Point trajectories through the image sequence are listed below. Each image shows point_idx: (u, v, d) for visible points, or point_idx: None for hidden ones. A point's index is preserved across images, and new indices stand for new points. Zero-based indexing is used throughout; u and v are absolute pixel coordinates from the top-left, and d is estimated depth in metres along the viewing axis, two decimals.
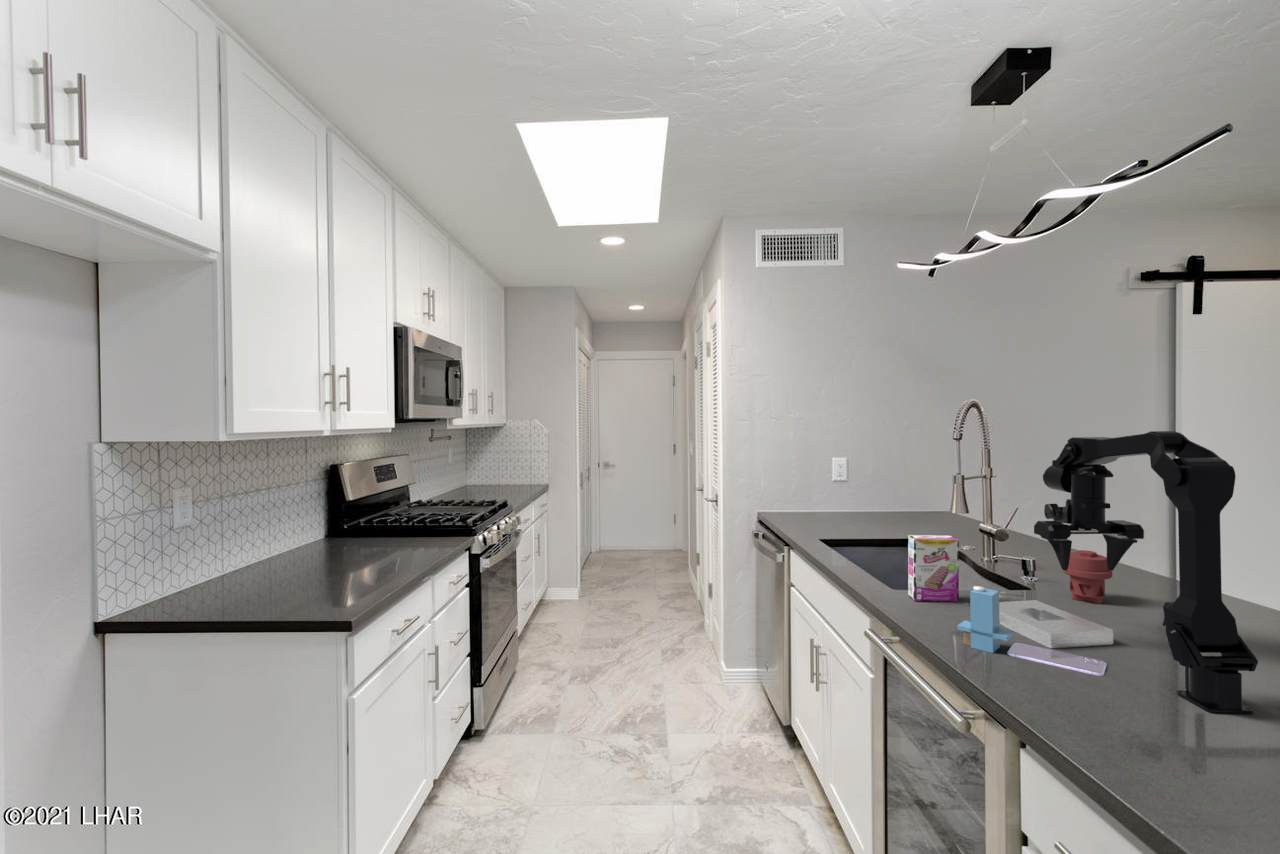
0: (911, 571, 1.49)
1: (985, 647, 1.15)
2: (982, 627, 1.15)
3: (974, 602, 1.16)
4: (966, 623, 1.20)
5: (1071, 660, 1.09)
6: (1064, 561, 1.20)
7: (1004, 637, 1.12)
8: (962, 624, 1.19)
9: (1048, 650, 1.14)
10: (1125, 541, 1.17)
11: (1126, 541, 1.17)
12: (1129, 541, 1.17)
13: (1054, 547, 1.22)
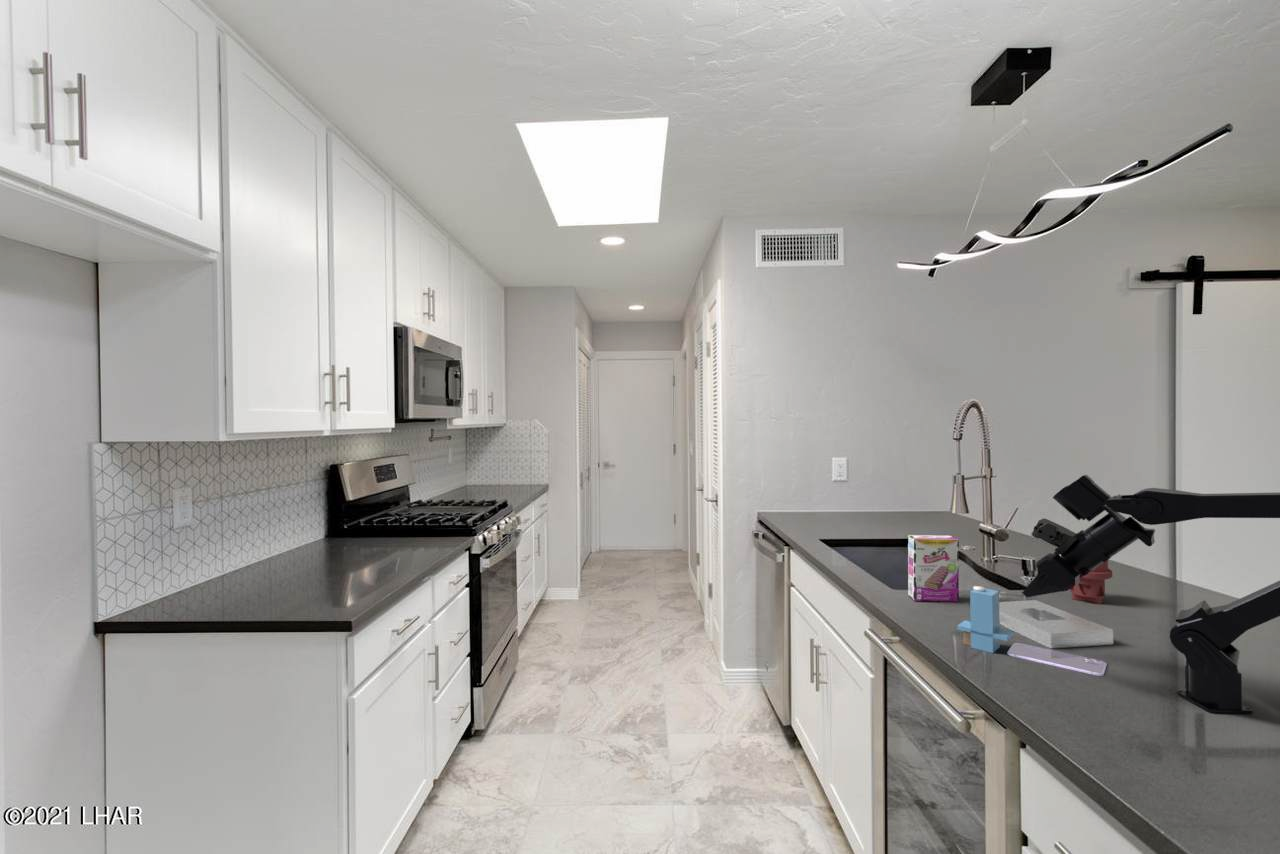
0: (911, 571, 1.49)
1: (985, 647, 1.15)
2: (982, 627, 1.15)
3: (974, 602, 1.16)
4: (966, 623, 1.20)
5: (1071, 660, 1.09)
6: (1037, 594, 1.06)
7: (1004, 637, 1.12)
8: (962, 624, 1.19)
9: (1048, 651, 1.14)
10: (1081, 576, 1.09)
11: (1081, 576, 1.10)
12: None
13: (1038, 578, 1.05)
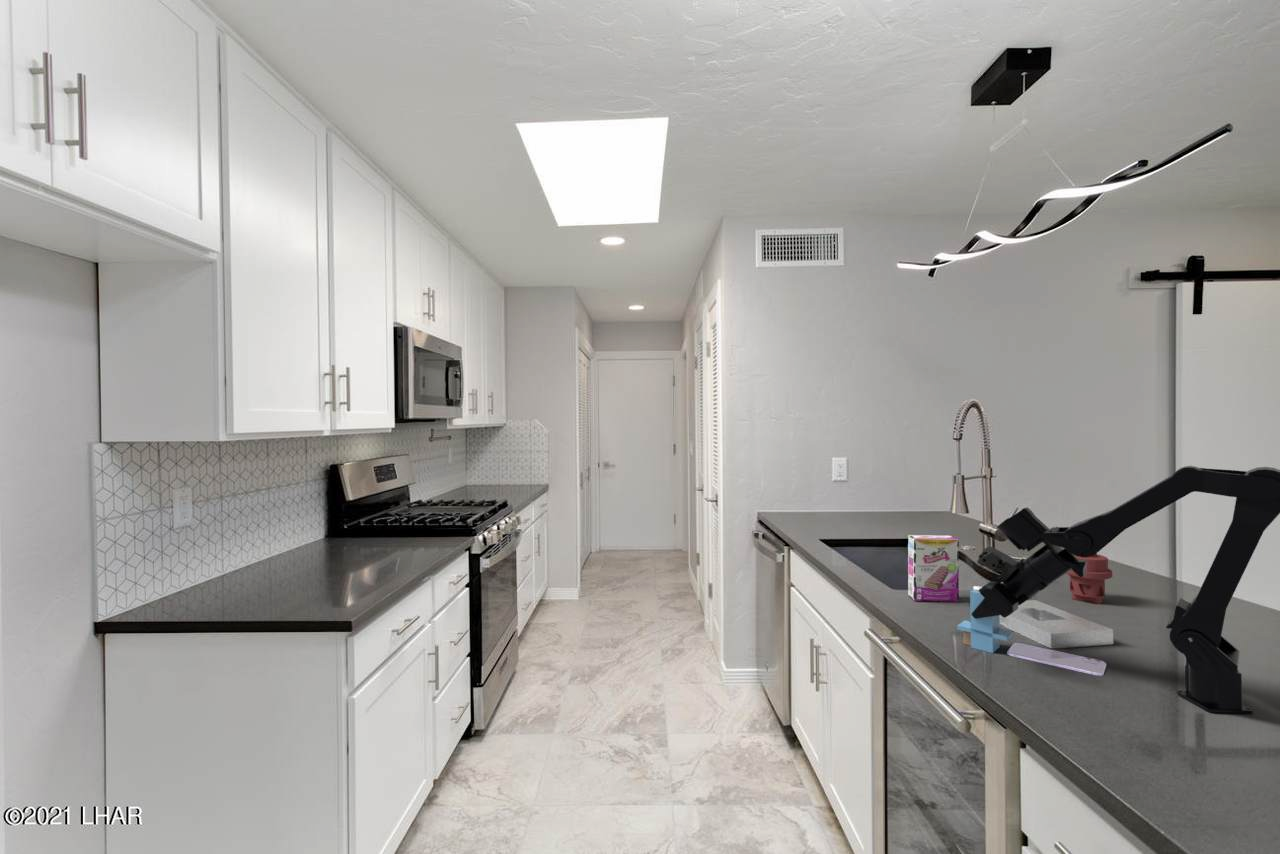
0: (911, 571, 1.49)
1: (985, 647, 1.15)
2: (982, 627, 1.15)
3: (974, 602, 1.16)
4: (966, 623, 1.20)
5: (1071, 660, 1.09)
6: (984, 616, 1.14)
7: (1004, 637, 1.12)
8: (962, 624, 1.19)
9: (1047, 650, 1.14)
10: (1020, 604, 1.15)
11: None
12: (1021, 603, 1.15)
13: (985, 601, 1.13)
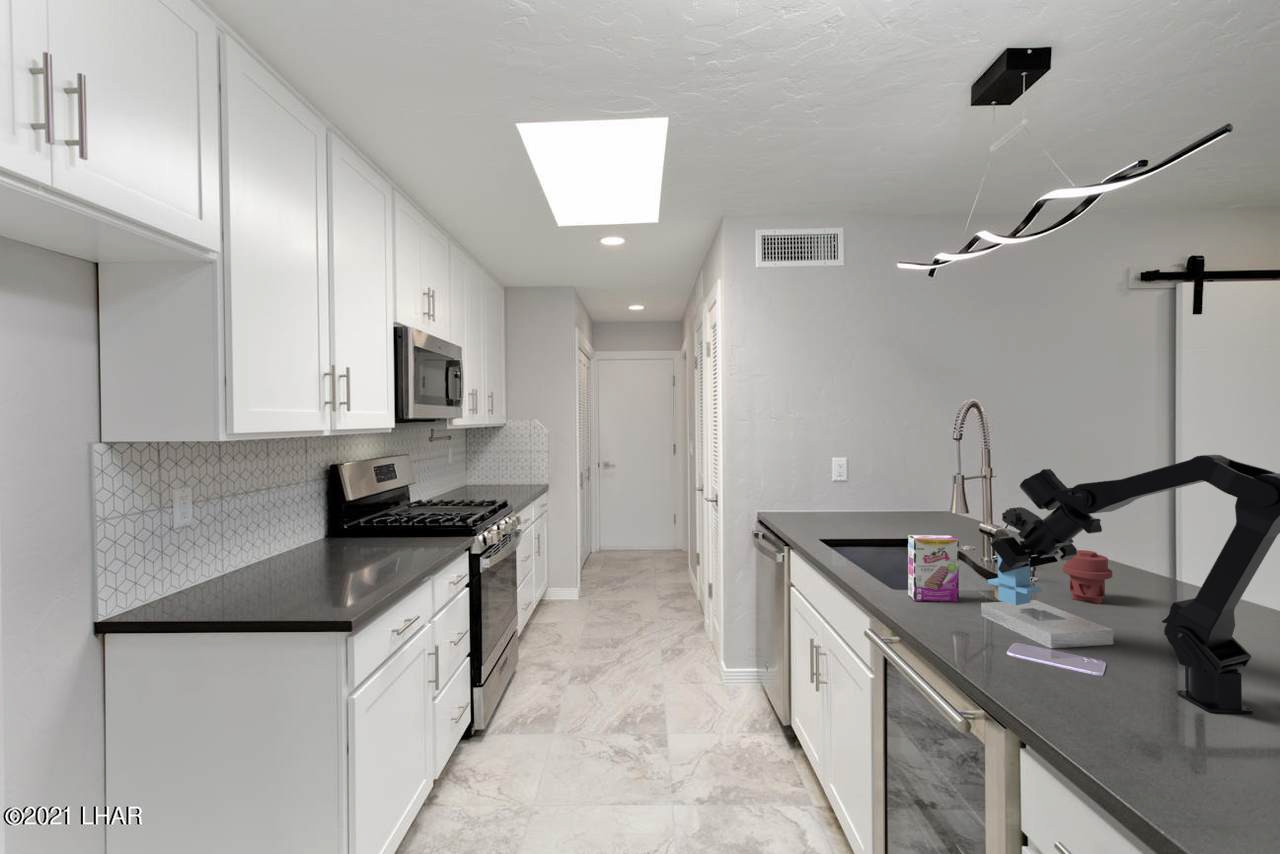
0: (911, 571, 1.49)
1: (1010, 600, 1.23)
2: (1007, 581, 1.23)
3: None
4: None
5: (1070, 660, 1.09)
6: (1007, 570, 1.22)
7: (1025, 590, 1.20)
8: (995, 579, 1.28)
9: (1047, 650, 1.14)
10: (1049, 562, 1.20)
11: (1050, 562, 1.20)
12: (1052, 562, 1.20)
13: None
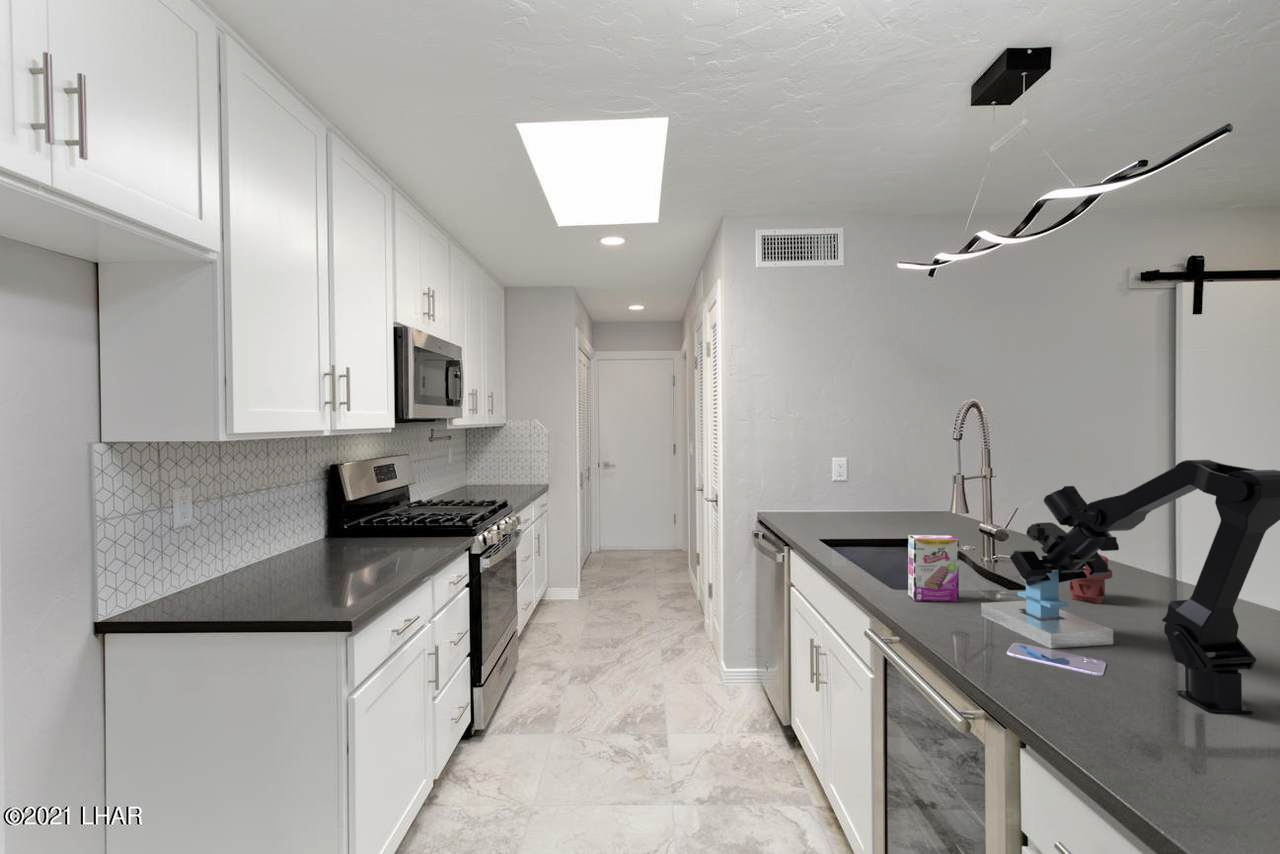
0: (911, 571, 1.49)
1: (1036, 612, 1.25)
2: (1033, 594, 1.26)
3: None
4: None
5: (1070, 660, 1.09)
6: (1032, 583, 1.25)
7: (1048, 604, 1.22)
8: (1025, 592, 1.30)
9: (1047, 650, 1.14)
10: (1076, 578, 1.21)
11: (1077, 578, 1.21)
12: (1079, 578, 1.21)
13: None
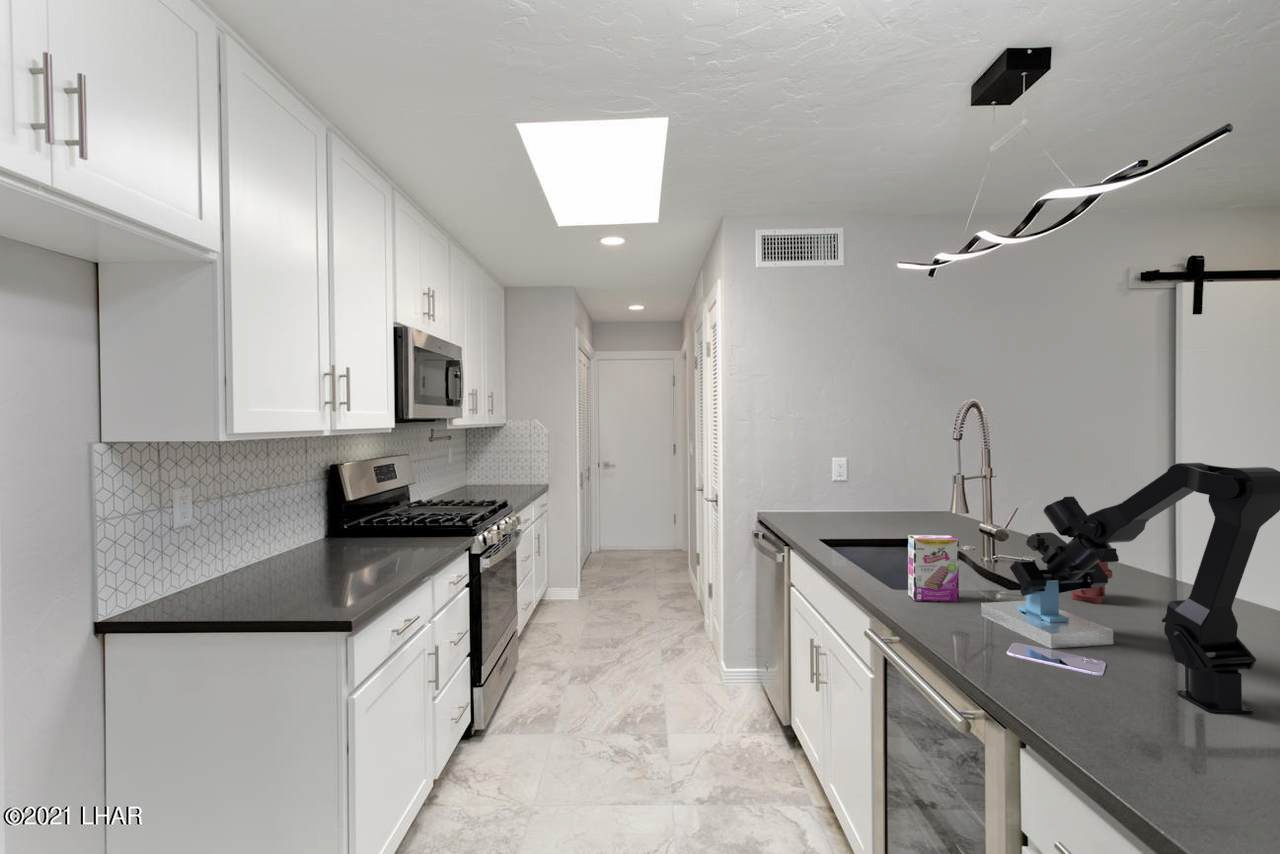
0: (911, 571, 1.49)
1: None
2: (1033, 608, 1.26)
3: None
4: None
5: (1070, 660, 1.09)
6: (1027, 593, 1.25)
7: (1048, 619, 1.22)
8: (1025, 605, 1.30)
9: (1047, 650, 1.14)
10: (1081, 588, 1.21)
11: (1082, 588, 1.21)
12: (1084, 588, 1.21)
13: None
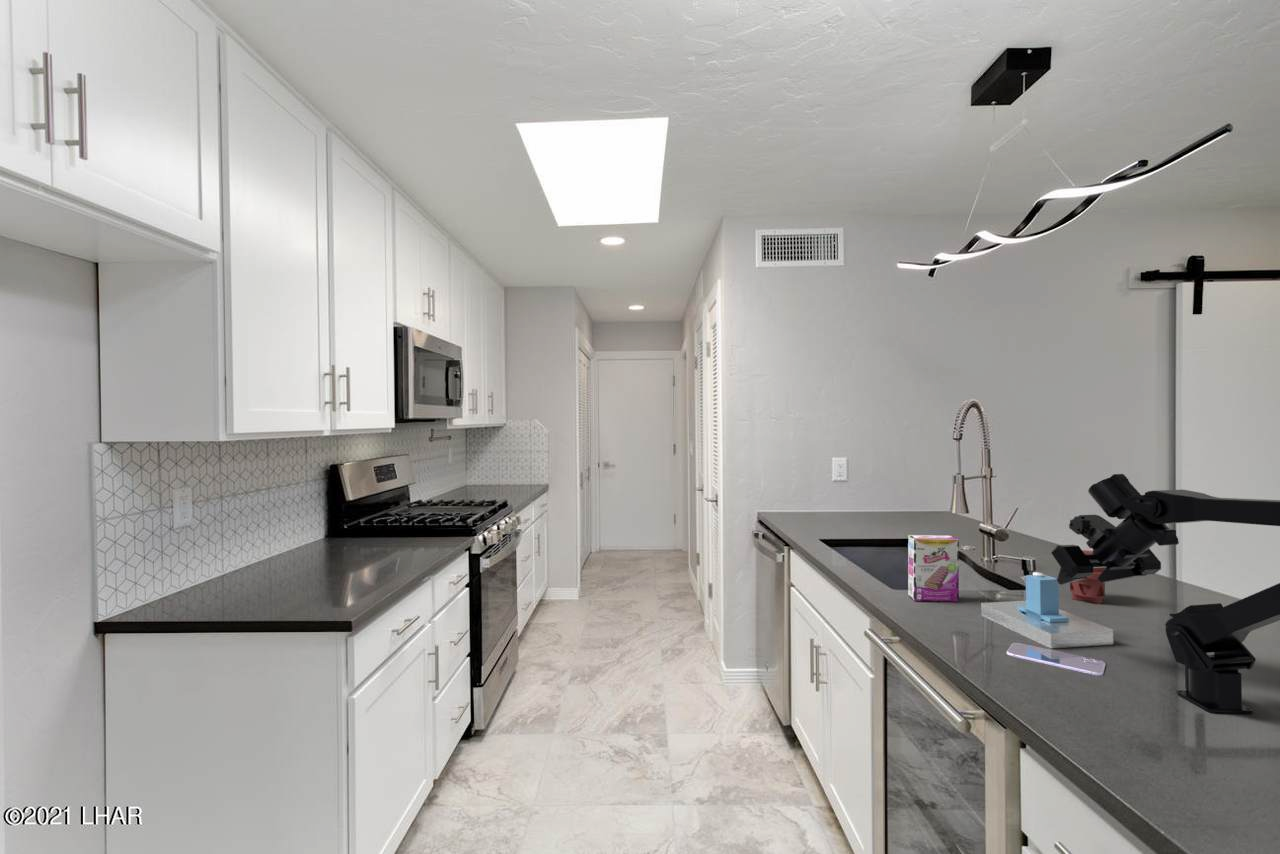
0: (911, 571, 1.49)
1: None
2: (1033, 608, 1.26)
3: (1028, 585, 1.27)
4: None
5: (1070, 660, 1.09)
6: (1065, 582, 1.14)
7: (1048, 619, 1.22)
8: (1025, 605, 1.30)
9: (1047, 650, 1.14)
10: (1135, 575, 1.10)
11: (1136, 575, 1.10)
12: (1139, 575, 1.10)
13: None
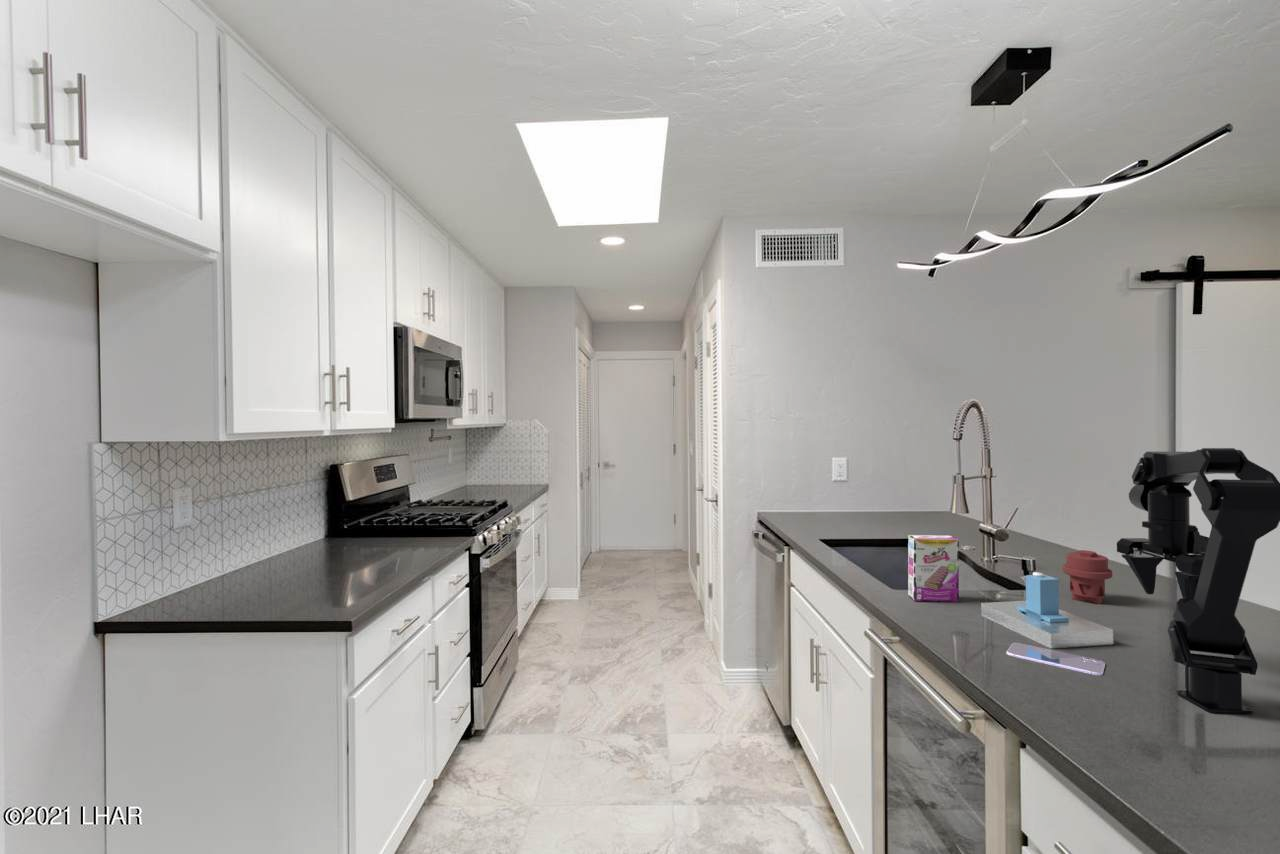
0: (911, 571, 1.49)
1: None
2: (1033, 608, 1.26)
3: (1028, 585, 1.27)
4: None
5: (1070, 660, 1.09)
6: None
7: (1048, 619, 1.22)
8: (1025, 605, 1.30)
9: (1046, 650, 1.14)
10: (1176, 572, 1.02)
11: (1177, 573, 1.02)
12: (1180, 574, 1.01)
13: None
